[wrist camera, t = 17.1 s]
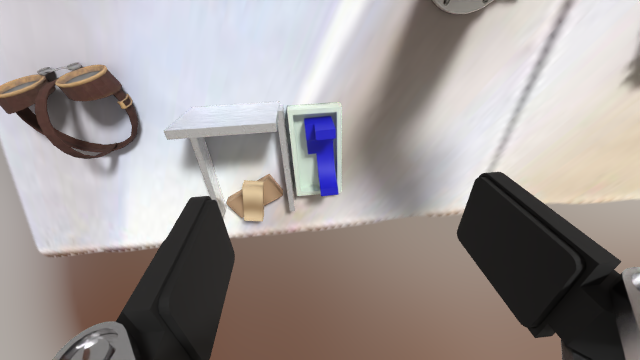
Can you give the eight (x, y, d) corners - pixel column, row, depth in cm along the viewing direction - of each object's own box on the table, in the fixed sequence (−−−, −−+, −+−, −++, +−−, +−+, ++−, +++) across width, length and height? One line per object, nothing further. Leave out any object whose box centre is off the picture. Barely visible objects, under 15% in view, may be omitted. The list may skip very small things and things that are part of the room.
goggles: (113, 53, 35) (72, 85, 28) (166, 130, 44) (144, 168, 37) (6, 70, 35) (-62, 107, 28) (81, 143, 44) (44, 185, 37)
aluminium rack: (282, 101, 40) (279, 122, 32) (295, 201, 52) (295, 236, 43) (188, 107, 40) (159, 131, 31) (221, 207, 51) (207, 244, 43)
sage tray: (339, 102, 41) (341, 106, 39) (339, 185, 50) (341, 192, 48) (287, 105, 41) (287, 110, 39) (296, 188, 50) (297, 196, 48)
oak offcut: (244, 180, 46) (242, 186, 44) (263, 181, 46) (262, 187, 45) (246, 213, 50) (244, 220, 48) (263, 214, 50) (262, 221, 49)
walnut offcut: (269, 172, 48) (268, 179, 46) (283, 188, 50) (282, 195, 48) (229, 195, 50) (226, 203, 48) (243, 210, 53) (241, 217, 50)
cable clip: (304, 118, 42) (305, 132, 37) (330, 115, 42) (335, 129, 37) (310, 178, 48) (312, 197, 43) (333, 176, 48) (338, 194, 43)
